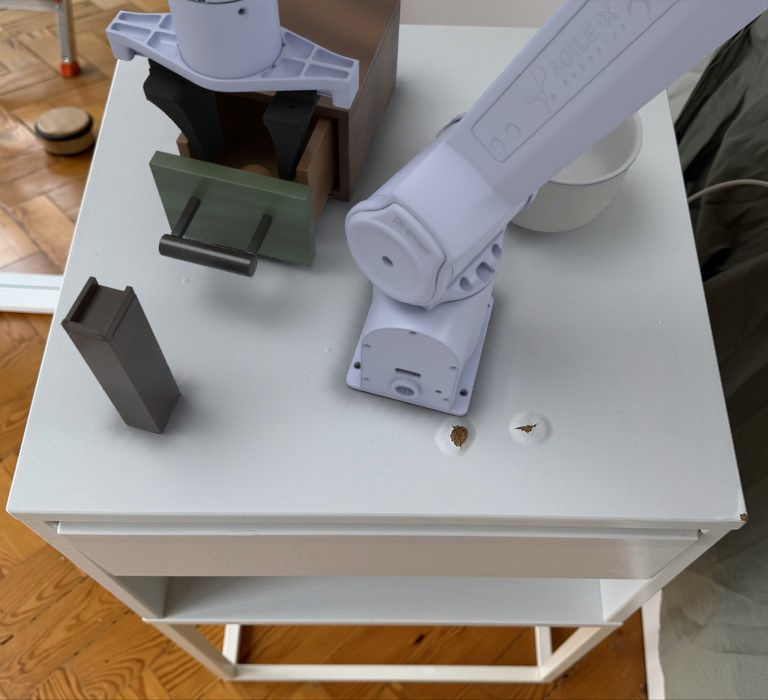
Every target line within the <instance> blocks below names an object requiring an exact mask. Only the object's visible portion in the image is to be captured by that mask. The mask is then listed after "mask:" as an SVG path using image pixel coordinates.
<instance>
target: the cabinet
mask: <svg viewBox="0 0 768 700" xmlns="http://www.w3.org/2000/svg"><path fill="white" fill-rule="evenodd" d="M401 2H402V0H278V10H279V20H280V26H281V27H283V28H285V29H287V30H289V31H291V32H293V33H295V34H297V35H299V36H301V37H303V38H305V39H307V40H309V41H311V42H313V43H315V44H317V45H319V46H321V47H323V48H325V49H327V50H329V51H331V52H333V53H336V54H338V55H341V56H344V57H347V58H351V59H355V60H359V89H358V91H357V93H356V96H355V98H354V101H353V102H352V105H351V107H350V109H344V108H340V107H336V106H334V105H333V104H332V98H331V97H326V96H322V95H321V97H320V99H319V101H318V103H317V105H316V107H315V110H314V112H313V113H315V114H319V115H324V116H328V117H333V118H338V144H339V173H338V175H337V178H336V180H335V182H334V185H333V187H332V189H331V192H330V194H329V197H328V198H332V199H335V200H341V201H345V202H351V200H352V197H353V194H354V192H355V189H356V187H357V184H358V182H359V181H360V180H359V179H360V177H361V174H362V172H363V170H364V167H365V164H366V162H367V160H368V157H369V155H370V152H371V149H372V147H373V145H374V142H375V139H376V137H377V134H378V132H379V130H380V127H381V125H382V122H383V119H384V117H385V114H386V112H387V110H388V107H389V104H390V102H391V100H392V97H393V95H394V92H395V89H396V88H397V76H398V75H397V74H398V59H399V58H398V57H399V42H400V41H399V39H400V25H401V24H400V23H401V22H400V21H401V7H402V3H401ZM215 92H220V93H224V94H229V95H233V96H238V97H242V98H247V99H251V100H256V101H260V102H265V103H270V102H271V100H272V98H273V96H274V95H275V94H276V92H277V91H251V92H221V91H215Z"/></svg>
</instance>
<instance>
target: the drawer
mask: <svg viewBox="0 0 768 700" xmlns="http://www.w3.org/2000/svg"><path fill="white" fill-rule="evenodd" d="M215 99H216V105H217V110H218V114H219V119H220V124H221V129H222V137H223V146H222V148H221V150H220V152H219V154H218V155H217V157H216V159H215V161H214V163H209V162H204V161H201V160H200V158H199V157H198V155H197V154H196V152H195V150H194V149H193V147H192V146H191V144H190V143H189V141H188V140H187V138H186V137H185V136H184V134H183V133H182V132H181V131H180V133H179V135H178V137H177V138H176V140H175V142H176V146H177V151H178V153H179V155H178V154H174V153H171V152H166V151H160V150H155V152H154V153H153V155H152V157H151V158H150V160H149V162H148V165H149V168H150V171H151V174H152V177H153V181H154V184H155V187H156V190H157V192H158V195H159V198H160V201H161V205H162V206H163V210H164V213H165V216H166V219H167V223H168V225H169V229H170V234H169V233H163V235H161V236H160V239H159V243H158V253H159V255H160V256H162V257H166V258H170V259H174V260H178V261H182V262H187V263H190V264H193V265H197V266H198V265H199V266H202V267H206V268H210V269H214V270H219V271H223V272H227V273H230V274H234V275H237V276H238V275H239V276H243V277H247V278H252V277H254V275H255V273H256V271H257V267H258V255H261V256H265V257H269V258H275V259H278V260H281V261H282V260H283V261H286V262H290V263H294V264H298V265H302V266H307V267H312V265H313V263H314V261H315V258H316V256H317V246H316V245H317V244H316V232H315V229H316V227H317V225H318V222H319V220H320V218H321V215H322V213H323V211H324V209H325V206H326V203H327V201H328V199H329V198H330V197H329V194H330V192H331V189H332V187H333V185H334V182H335V180H336V178H337V175H338V173H339V144H338V118H333V117H328V116H324V115H319V114H315V113H313V114H312V116H311V118H310V121H309V124H308V127H307V130H306V134H305V137H304V141H303V146H302V152H301V159H300V161H299V163H298V165H297V168H296V175H295V177H294V179H293V181H292V182H291V181H286V180H282V179H280V178H279V175H278V168H277V157H276V151H275V147H274V143H273V140H272V138H271V135H270V133H269V131H268V129H267V127H266V125H265V124H264V123H263V115H264V113H265V111H266V109H267V107H268V105H269V104H270V103H265V102H260V101H256V100H251V99H247V98H242V97H238V96H233V95H229V94H224V93H220V92H215ZM248 165H260V166H262V167H264V168H266V169H267V170H269V171H270V172H271V174H272V175H273V177H274V178H273V177H269V176H265V175H260V174H256V173H252V172H248V171H243V170H240V169H241V168H243V167H245V166H248ZM186 237H187V238H186ZM191 238H192V239H191ZM194 239H196V240H194ZM198 240H201V241H198ZM202 241H204V242H202ZM206 242H209V243H206ZM210 243H212V244H210ZM214 244H216V245H214ZM219 245H221V246H219ZM222 246H224V247H222ZM227 247H229V248H227ZM231 248H233V249H231ZM234 249H235V250H234ZM236 249H237V250H236ZM238 250H241V251H238ZM243 251H244V252H243Z"/></svg>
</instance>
